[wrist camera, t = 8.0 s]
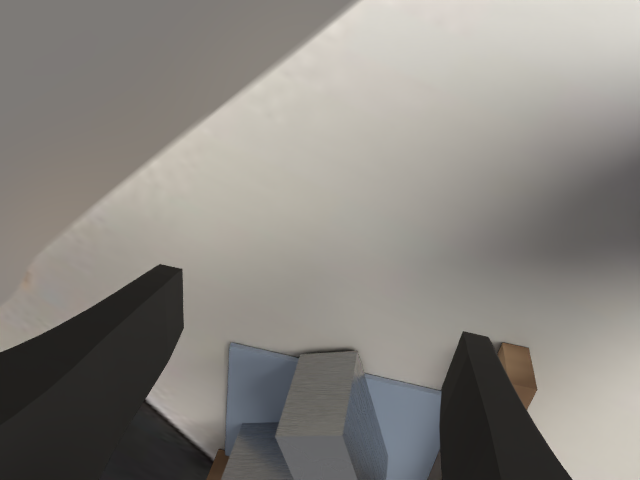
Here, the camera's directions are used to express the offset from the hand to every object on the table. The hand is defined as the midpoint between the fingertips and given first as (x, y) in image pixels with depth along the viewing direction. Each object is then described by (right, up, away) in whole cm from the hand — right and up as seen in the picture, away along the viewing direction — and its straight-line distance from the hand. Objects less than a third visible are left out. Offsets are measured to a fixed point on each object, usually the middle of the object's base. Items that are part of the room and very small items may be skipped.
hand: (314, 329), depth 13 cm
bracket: (-1, -7, +16) cm, 17 cm away
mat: (+1, -8, +16) cm, 18 cm away
